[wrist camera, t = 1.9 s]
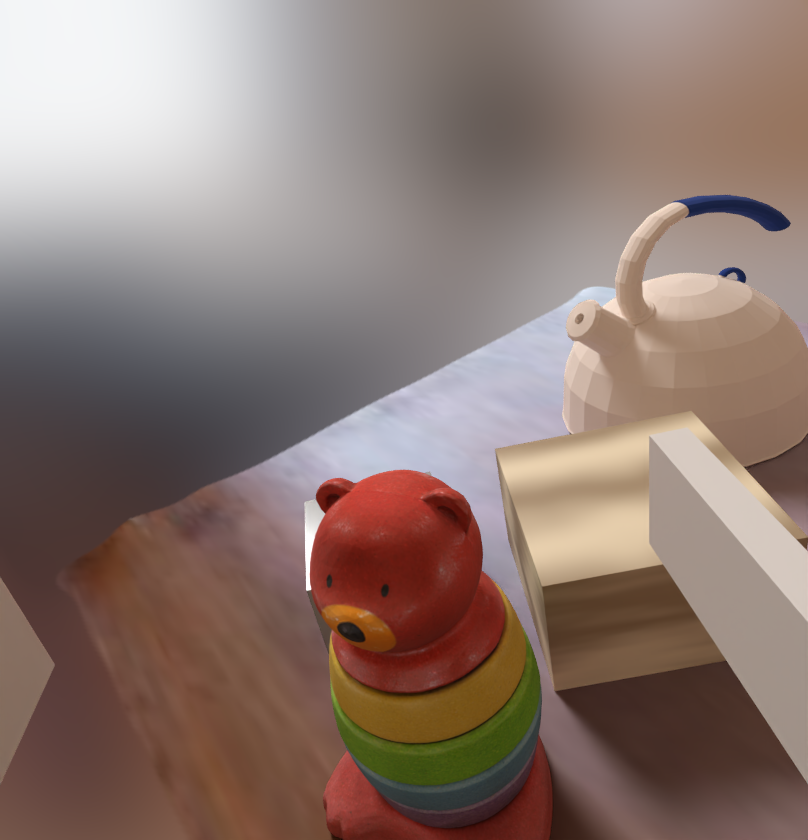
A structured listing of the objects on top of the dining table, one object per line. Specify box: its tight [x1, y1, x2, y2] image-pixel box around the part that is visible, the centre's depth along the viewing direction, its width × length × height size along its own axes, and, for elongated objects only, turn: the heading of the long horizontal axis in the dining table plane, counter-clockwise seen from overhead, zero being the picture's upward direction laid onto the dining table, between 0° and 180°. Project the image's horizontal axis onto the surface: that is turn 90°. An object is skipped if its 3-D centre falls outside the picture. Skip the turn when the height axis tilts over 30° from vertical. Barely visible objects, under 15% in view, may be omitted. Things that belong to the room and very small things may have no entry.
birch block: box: [495, 411, 808, 691], centre depth 40 cm, size 13×13×8 cm
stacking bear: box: [309, 470, 553, 840], centre depth 29 cm, size 11×10×18 cm
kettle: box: [562, 195, 808, 467], centre depth 54 cm, size 20×21×18 cm
